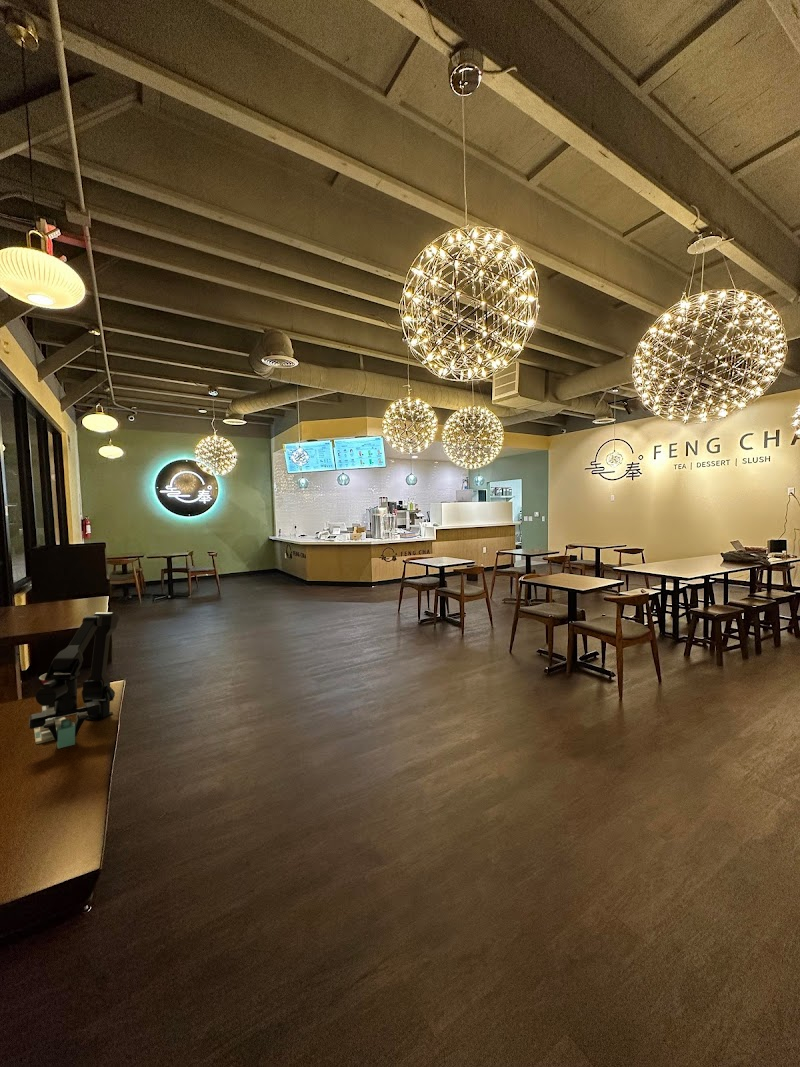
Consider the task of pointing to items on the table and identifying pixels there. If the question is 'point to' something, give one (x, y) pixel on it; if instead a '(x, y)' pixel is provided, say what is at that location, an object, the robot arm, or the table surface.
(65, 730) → the teal plug
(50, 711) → the grey plug
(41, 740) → the backplate with mounted blocks
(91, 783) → the table surface
